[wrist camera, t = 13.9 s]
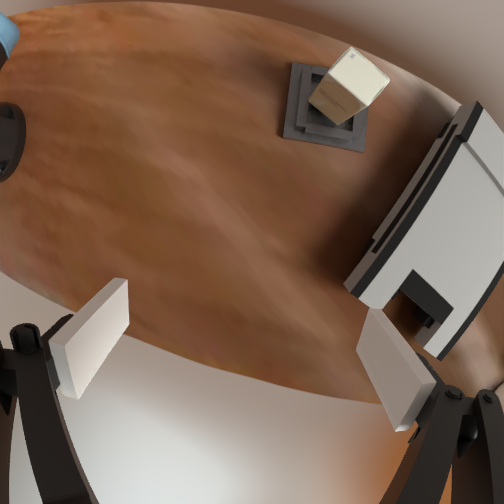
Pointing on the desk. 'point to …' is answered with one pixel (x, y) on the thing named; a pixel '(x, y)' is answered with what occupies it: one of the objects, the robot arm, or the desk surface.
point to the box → (348, 87)
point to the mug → (500, 394)
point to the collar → (319, 114)
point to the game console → (443, 233)
